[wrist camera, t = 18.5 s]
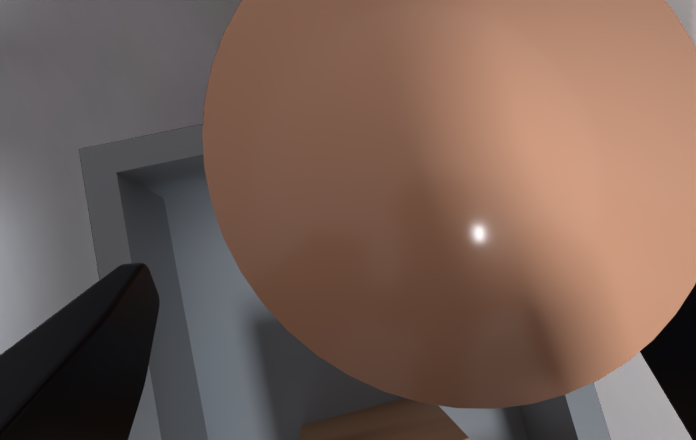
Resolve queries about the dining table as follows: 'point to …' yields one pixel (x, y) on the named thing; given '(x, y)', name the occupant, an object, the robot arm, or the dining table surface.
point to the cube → (387, 424)
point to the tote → (242, 318)
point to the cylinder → (459, 185)
